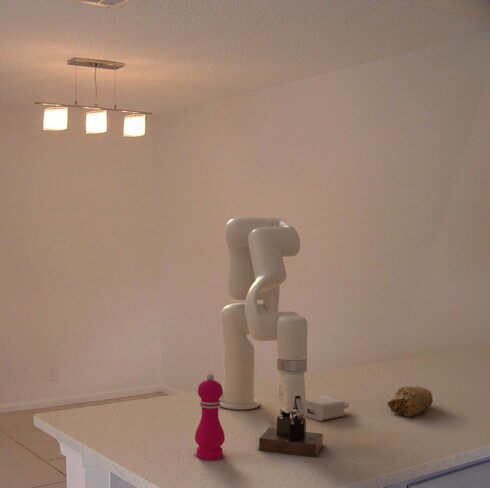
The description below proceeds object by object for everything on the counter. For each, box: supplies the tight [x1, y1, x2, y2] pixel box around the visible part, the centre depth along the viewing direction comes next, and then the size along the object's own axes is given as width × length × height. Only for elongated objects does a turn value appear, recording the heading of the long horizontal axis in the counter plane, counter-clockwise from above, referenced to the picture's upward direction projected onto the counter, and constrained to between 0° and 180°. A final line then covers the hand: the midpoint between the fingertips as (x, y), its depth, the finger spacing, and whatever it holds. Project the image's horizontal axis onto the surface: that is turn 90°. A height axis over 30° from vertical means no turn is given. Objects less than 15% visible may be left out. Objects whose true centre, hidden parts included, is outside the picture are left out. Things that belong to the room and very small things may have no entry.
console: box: [258, 427, 324, 458], centre depth 182 cm, size 14×11×3 cm
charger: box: [303, 395, 350, 421], centre depth 215 cm, size 5×9×15 cm
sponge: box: [386, 386, 434, 417], centre depth 220 cm, size 13×8×20 cm
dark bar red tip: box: [276, 415, 307, 438], centre depth 182 cm, size 7×2×5 cm, turn 68°
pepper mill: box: [194, 373, 226, 461], centre depth 176 cm, size 7×7×20 cm
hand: (291, 435), depth 182 cm, fingers open, 6 cm apart
